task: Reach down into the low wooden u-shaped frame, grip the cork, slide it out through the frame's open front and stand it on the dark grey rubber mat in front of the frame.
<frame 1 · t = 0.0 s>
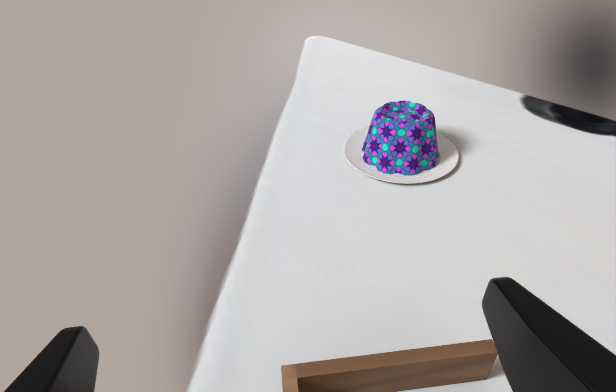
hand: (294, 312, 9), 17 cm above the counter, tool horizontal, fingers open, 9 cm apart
patterned hat: (399, 157, 45), on the counter
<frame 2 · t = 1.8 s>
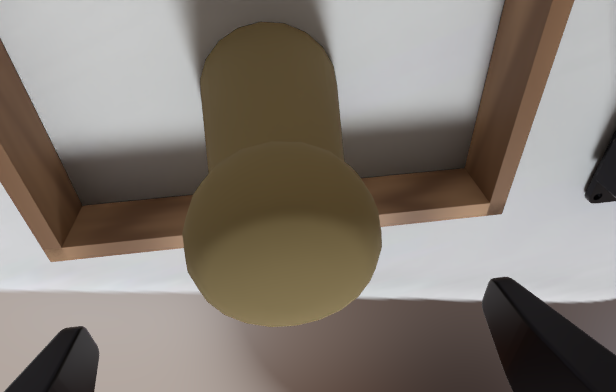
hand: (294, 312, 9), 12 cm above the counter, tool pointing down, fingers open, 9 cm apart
cork: (269, 90, 18), on the counter
wooden u-shaped frame: (269, 93, 18), on the counter
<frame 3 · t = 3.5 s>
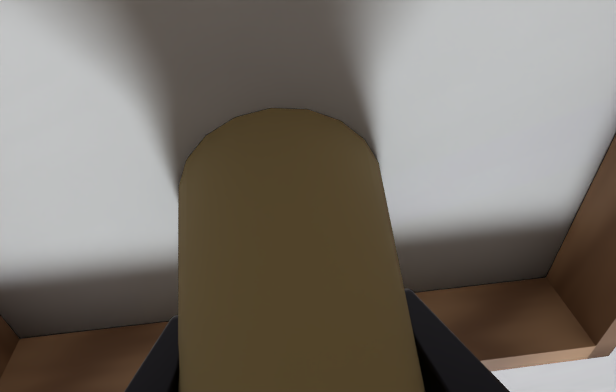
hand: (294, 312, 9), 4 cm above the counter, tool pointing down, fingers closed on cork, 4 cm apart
cork: (282, 195, 12), on the counter, touching gripper
wooden u-shaped frame: (283, 200, 12), on the counter
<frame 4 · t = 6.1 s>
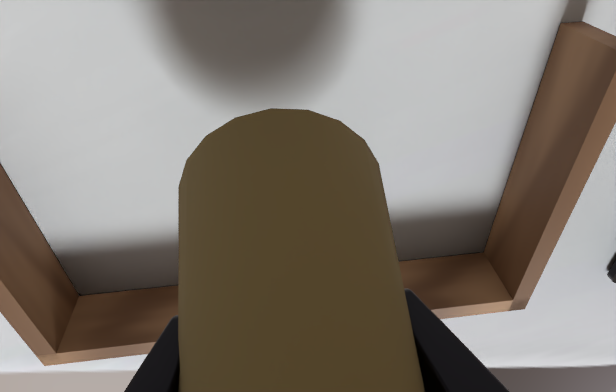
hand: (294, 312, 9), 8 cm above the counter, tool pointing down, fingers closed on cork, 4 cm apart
cork: (282, 196, 12), point 4 cm above the counter, touching gripper
wooden u-shaped frame: (280, 190, 17), on the counter
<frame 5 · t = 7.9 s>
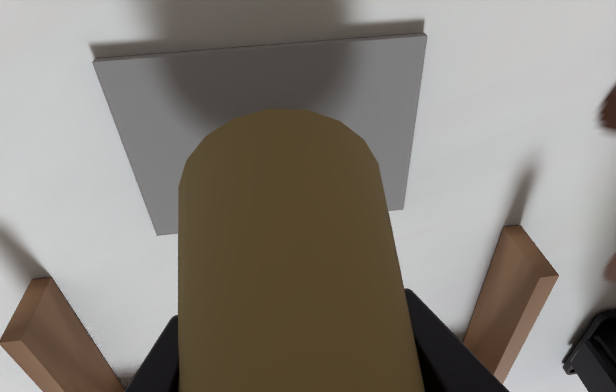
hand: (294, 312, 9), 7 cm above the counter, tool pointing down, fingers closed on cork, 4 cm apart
cork: (282, 196, 12), point 3 cm above the counter, touching gripper
grey mat: (274, 144, 15), on the counter
wooden u-shaped frame: (293, 329, 22), on the counter
when the fingers open (5 cm above the counter, at t = 9.0 s): cork stays where it is, resting on grey mat.
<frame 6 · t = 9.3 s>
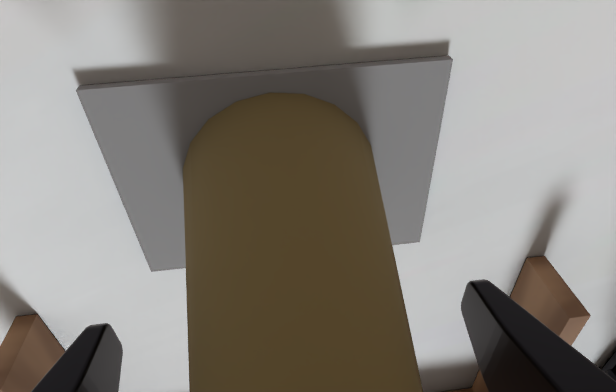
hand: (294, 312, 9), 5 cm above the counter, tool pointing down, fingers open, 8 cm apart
cork: (280, 177, 13), resting on grey mat
grey mat: (280, 175, 13), on the counter
wooden u-shaped frame: (298, 362, 20), on the counter
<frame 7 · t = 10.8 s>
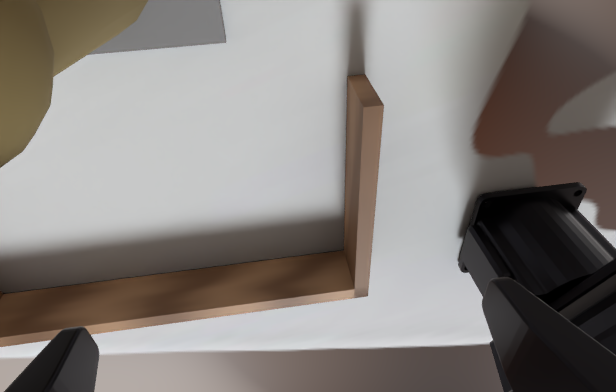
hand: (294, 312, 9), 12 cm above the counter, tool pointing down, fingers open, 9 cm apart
wooden u-shaped frame: (154, 205, 21), on the counter
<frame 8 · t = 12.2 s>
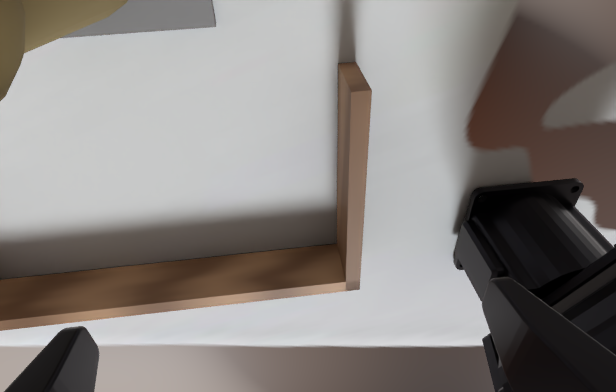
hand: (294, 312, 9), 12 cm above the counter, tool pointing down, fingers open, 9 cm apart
wooden u-shaped frame: (146, 192, 21), on the counter
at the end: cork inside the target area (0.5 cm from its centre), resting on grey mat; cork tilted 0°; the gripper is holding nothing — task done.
